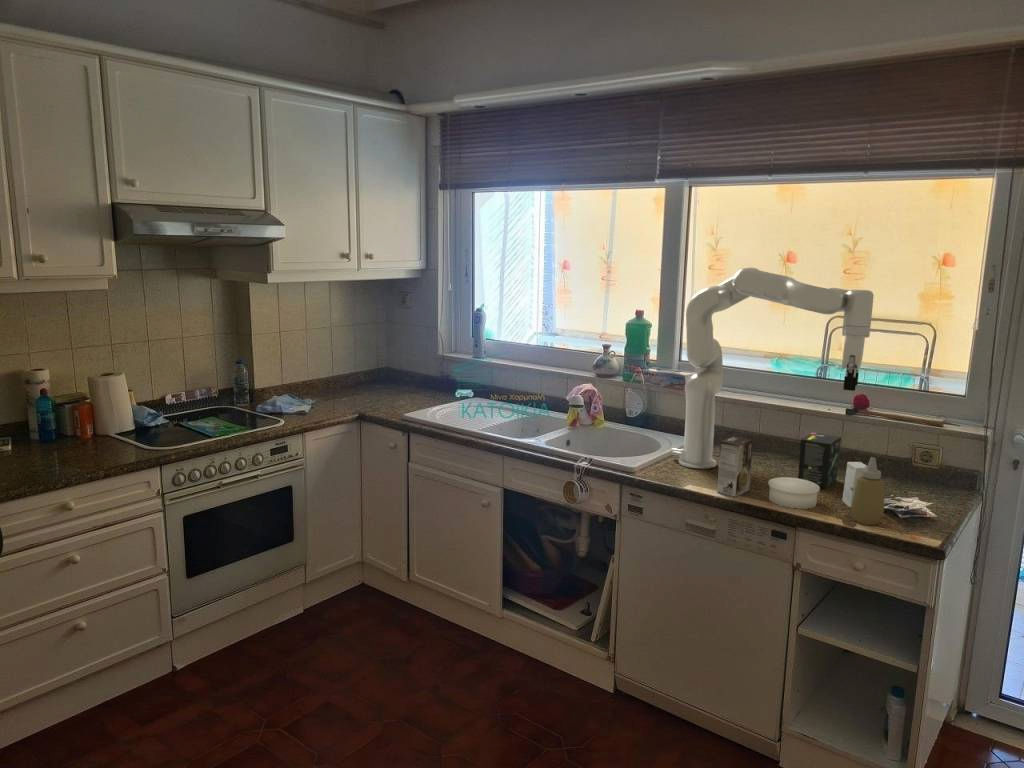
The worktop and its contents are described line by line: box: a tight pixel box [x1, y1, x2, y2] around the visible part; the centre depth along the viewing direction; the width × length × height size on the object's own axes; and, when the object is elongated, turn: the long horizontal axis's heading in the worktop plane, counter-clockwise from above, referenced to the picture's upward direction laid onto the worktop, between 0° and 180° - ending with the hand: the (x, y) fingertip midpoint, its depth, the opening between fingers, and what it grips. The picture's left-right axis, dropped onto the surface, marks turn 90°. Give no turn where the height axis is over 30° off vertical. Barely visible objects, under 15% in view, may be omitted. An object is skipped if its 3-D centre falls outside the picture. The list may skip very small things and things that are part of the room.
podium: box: [767, 476, 821, 510], centre depth 217 cm, size 14×14×5 cm
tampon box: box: [797, 431, 842, 490], centre depth 234 cm, size 11×9×15 cm
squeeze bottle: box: [851, 456, 885, 526], centre depth 200 cm, size 8×8×18 cm
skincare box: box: [842, 461, 868, 509], centre depth 214 cm, size 6×4×12 cm
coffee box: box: [716, 435, 753, 498], centre depth 224 cm, size 9×6×16 cm
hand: (850, 387), depth 226 cm, fingers open, 9 cm apart
